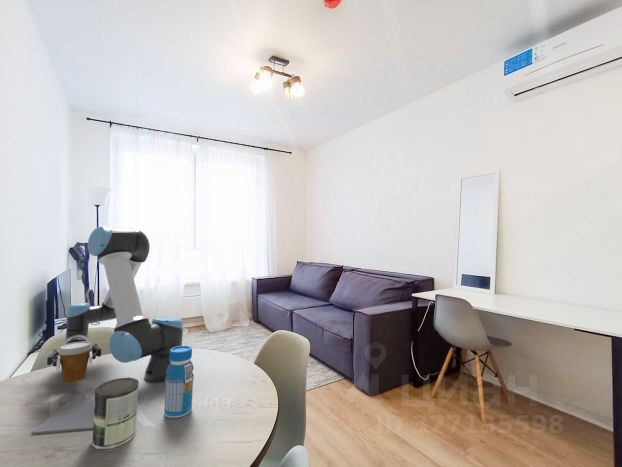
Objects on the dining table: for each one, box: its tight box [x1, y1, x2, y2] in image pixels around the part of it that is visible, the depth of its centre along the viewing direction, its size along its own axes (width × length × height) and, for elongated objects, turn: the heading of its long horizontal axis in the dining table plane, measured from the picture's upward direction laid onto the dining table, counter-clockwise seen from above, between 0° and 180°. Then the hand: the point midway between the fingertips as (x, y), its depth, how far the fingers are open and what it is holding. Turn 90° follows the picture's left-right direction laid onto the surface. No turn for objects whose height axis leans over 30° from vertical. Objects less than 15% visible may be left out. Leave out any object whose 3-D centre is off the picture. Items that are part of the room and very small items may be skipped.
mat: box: [31, 397, 95, 436], centre depth 94 cm, size 18×18×1 cm
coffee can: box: [91, 377, 140, 450], centre depth 83 cm, size 10×10×14 cm
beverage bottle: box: [163, 345, 195, 419], centre depth 97 cm, size 8×8×20 cm
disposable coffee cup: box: [58, 341, 92, 384], centre depth 107 cm, size 10×10×12 cm
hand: (74, 363), depth 103 cm, fingers closed on disposable coffee cup, 8 cm apart
